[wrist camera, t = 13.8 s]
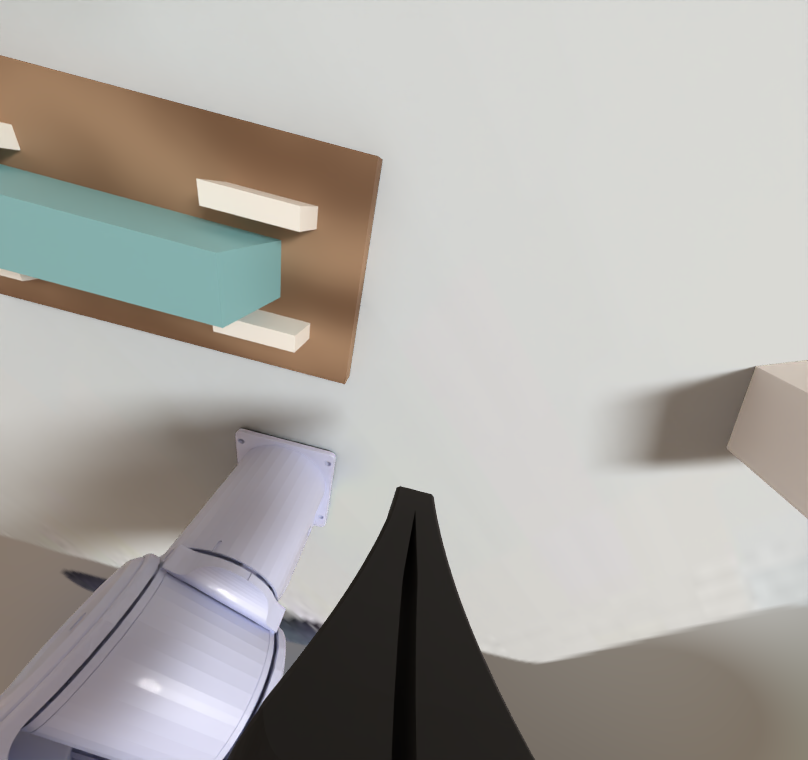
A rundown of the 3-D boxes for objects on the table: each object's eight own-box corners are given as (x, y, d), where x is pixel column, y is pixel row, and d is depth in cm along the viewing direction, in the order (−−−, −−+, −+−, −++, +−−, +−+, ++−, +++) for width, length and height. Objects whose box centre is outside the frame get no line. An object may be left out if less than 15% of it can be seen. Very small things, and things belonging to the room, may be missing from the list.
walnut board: (349, 376, 20) (344, 384, 19) (-2, 284, 20) (-22, 287, 19) (382, 159, 14) (378, 156, 13) (-124, 24, 14) (-162, 11, 13)
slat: (280, 297, 17) (222, 328, 12) (1, 222, 17) (-155, 227, 12) (281, 240, 15) (215, 252, 11) (-26, 156, 15) (-215, 136, 11)
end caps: (309, 338, 18) (294, 352, 16) (1, 257, 18) (-47, 263, 16) (317, 206, 14) (300, 206, 13) (-67, 103, 14) (-139, 89, 12)
